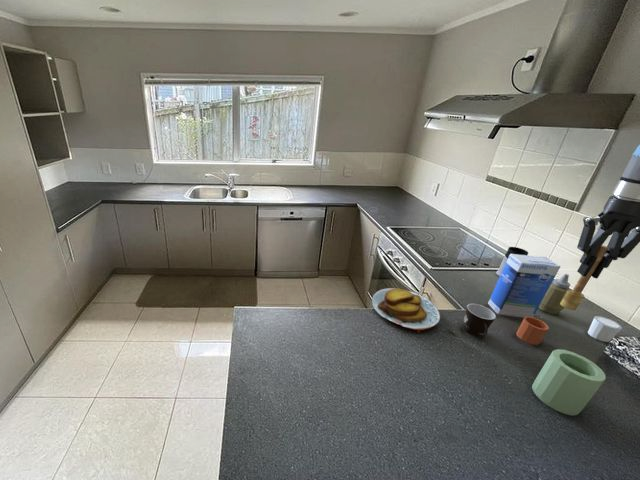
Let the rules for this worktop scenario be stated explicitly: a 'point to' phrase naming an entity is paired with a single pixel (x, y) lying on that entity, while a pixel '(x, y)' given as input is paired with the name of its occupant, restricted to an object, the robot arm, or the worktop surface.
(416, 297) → the food on plate
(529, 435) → the worktop surface
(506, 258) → the holder
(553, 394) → the sage green cup
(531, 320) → the brush cup
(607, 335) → the white cylinder
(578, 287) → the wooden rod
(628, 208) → the robot arm
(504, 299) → the string lights box
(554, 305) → the squeeze bottle
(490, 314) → the coffee mug
